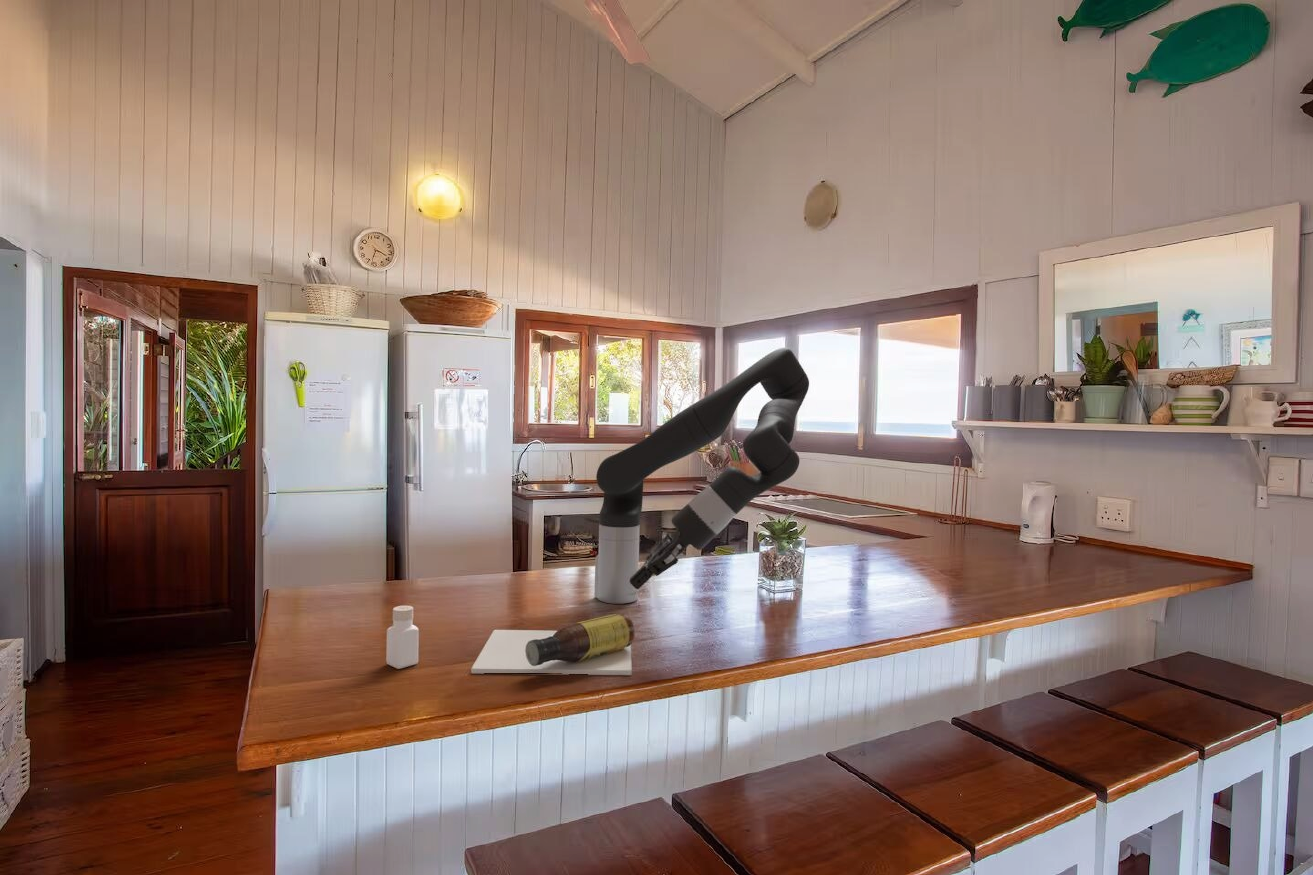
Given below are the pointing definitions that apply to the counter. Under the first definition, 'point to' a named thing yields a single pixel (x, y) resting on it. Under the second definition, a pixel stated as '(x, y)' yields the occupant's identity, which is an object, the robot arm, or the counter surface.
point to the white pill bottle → (402, 639)
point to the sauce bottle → (583, 640)
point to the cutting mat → (510, 657)
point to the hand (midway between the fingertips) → (632, 584)
